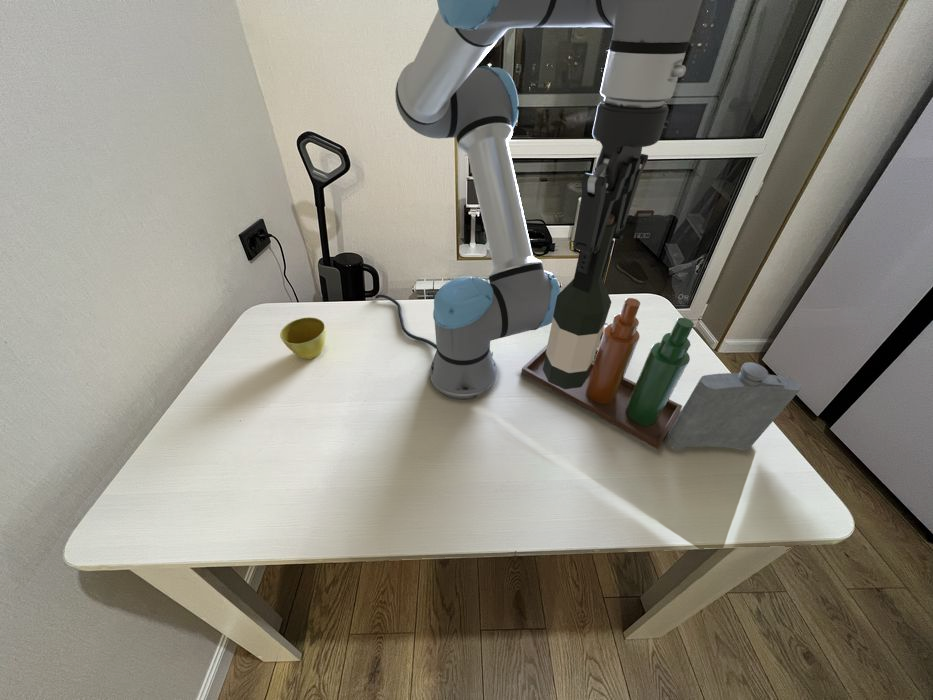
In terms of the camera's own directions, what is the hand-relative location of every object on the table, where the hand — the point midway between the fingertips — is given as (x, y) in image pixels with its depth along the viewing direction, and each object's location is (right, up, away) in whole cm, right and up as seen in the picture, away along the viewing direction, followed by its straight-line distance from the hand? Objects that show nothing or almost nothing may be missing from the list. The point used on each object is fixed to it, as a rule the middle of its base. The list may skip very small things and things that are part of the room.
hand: (587, 283), depth 57 cm
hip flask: (+28, -29, +17) cm, 44 cm away
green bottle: (+18, -24, +21) cm, 36 cm away
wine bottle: (0, -15, +13) cm, 20 cm away
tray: (+10, -20, +26) cm, 35 cm away
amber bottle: (+11, -20, +25) cm, 34 cm away
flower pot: (-57, -11, +37) cm, 69 cm away
